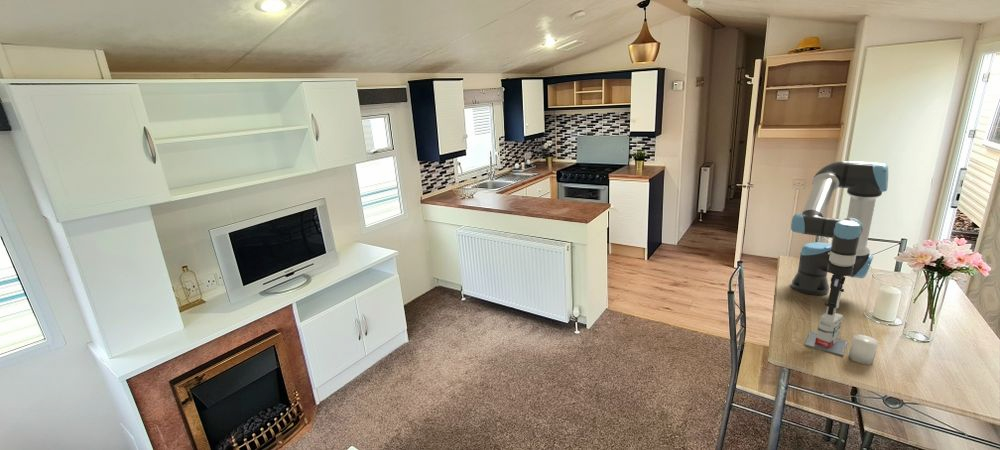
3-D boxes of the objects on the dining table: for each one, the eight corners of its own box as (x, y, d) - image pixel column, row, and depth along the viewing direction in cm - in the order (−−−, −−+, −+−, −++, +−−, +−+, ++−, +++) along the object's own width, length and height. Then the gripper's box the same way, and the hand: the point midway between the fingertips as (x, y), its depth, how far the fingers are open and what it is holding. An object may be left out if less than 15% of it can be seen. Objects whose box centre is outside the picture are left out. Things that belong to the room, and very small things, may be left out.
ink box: (829, 349, 167) (834, 321, 164) (814, 343, 171) (819, 316, 168) (838, 341, 172) (843, 314, 168) (823, 336, 176) (828, 309, 172)
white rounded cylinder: (848, 351, 166) (852, 332, 164) (871, 356, 162) (877, 338, 160) (849, 360, 161) (854, 341, 158) (874, 366, 157) (879, 347, 154)
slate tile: (810, 332, 180) (810, 331, 179) (846, 342, 172) (847, 341, 172) (804, 345, 171) (804, 344, 171) (843, 356, 163) (843, 355, 163)
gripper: (833, 250, 172) (824, 298, 179) (823, 272, 155) (814, 324, 162) (857, 254, 168) (847, 303, 174) (850, 277, 150) (839, 331, 157)
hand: (831, 313), depth 168 cm, fingers open, 13 cm apart
